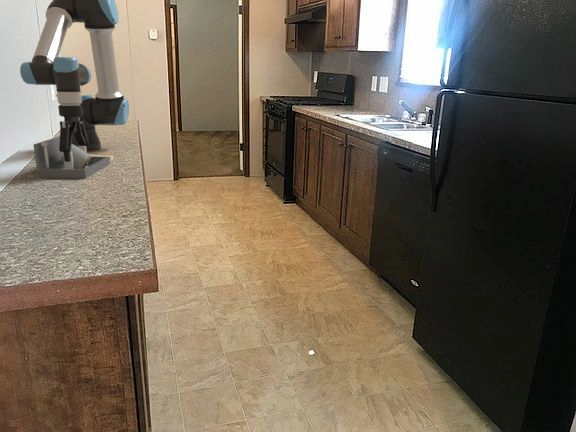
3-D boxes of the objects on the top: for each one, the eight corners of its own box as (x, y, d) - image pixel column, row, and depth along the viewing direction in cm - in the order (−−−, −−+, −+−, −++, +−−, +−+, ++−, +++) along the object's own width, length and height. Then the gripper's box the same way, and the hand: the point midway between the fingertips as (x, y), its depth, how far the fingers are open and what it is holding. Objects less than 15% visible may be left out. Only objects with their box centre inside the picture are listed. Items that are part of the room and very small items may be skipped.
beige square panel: (81, 156, 193) (81, 153, 193) (116, 157, 194) (115, 154, 194) (67, 163, 180) (67, 160, 180) (104, 163, 181) (104, 160, 180)
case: (67, 163, 179) (64, 133, 176) (110, 164, 180) (107, 134, 176) (37, 177, 156) (32, 143, 153) (85, 178, 157) (82, 144, 153)
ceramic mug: (80, 177, 166) (88, 161, 162) (56, 165, 162) (64, 149, 159) (88, 161, 174) (96, 146, 170) (66, 150, 171) (74, 134, 167)
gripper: (73, 101, 172) (79, 160, 179) (42, 106, 149) (50, 173, 156) (94, 102, 173) (99, 161, 179) (66, 107, 150) (73, 174, 156)
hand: (76, 167), depth 167 cm, fingers closed on ceramic mug, 12 cm apart
